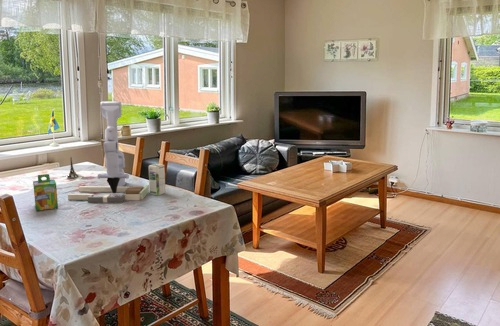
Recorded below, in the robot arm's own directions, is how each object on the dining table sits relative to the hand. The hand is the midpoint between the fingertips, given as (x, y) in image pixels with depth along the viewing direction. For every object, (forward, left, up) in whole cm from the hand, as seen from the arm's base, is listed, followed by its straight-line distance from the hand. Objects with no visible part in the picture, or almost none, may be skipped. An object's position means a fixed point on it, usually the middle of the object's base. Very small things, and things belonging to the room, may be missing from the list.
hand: (114, 192), depth 215 cm
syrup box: (-4, +20, -2) cm, 21 cm away
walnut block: (0, +10, -2) cm, 10 cm away
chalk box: (+18, -25, -2) cm, 31 cm away
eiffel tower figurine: (-33, -34, -2) cm, 48 cm away
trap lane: (+2, -2, -2) cm, 3 cm away
